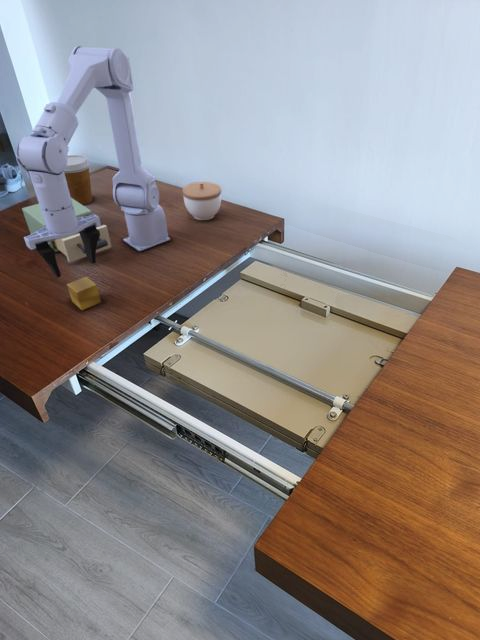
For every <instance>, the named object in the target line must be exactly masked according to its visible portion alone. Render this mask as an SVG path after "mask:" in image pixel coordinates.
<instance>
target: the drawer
mask: <svg viewBox="0 0 480 640" xmlns="http://www.w3.org/2000/svg"><path fill="white" fill-rule="evenodd" d="M85 216H87V215H85ZM85 216H82V217H85ZM96 229H98V230H99V232H100V237H99V239H98V243H97V247H96V254H97V253H99V252H102V251H105V250H108V249H110V248H112V243H111V238H110V234H109V229H108V225H106V224H101V226H100V227H96ZM52 243H53V245H54V246H55V247H56V248H57V249H58V250H60V251H59V252H61V253H62V254H63V255H64V256H65V257H66V259H67V262H68V263H72V262H75V261H78V260H81V259H83V258H87V256H86V252H85V248H84V244H83V241H82V239H81V236H80V234H79V232H78V233H76V234H74V235H72V236H68V237H64V238H60V239H57V240H54V241H52Z"/></svg>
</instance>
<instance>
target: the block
mask: <svg viewBox="0 0 480 640" xmlns="http://www.w3.org/2000/svg"><path fill="white" fill-rule="evenodd" d="M66 286H67V289H68V293H69V296H70V299H71V302H72V303H73V304H74V305H75V306H76V307H77V308H78V309H80V311H84V310H86V309H89V308H91V307H93V306H97V305H98V304H100V303H102V300H101V297H100V293H99V290H98V286H97V283H95V282H94V281H92V280H91V278H89V277H88V276H84V277H81V278H79V279H76V280H74V281H71V282H68V283H66Z"/></svg>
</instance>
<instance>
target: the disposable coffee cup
mask: <svg viewBox="0 0 480 640" xmlns="http://www.w3.org/2000/svg"><path fill="white" fill-rule="evenodd" d="M67 158H68V160H67V166H66V168H65V169H64V174H65V178H66V181H67V185H68V189H69V193H70V196H71V198H72V199H74V200H76V201H77V202H79V203H80V204H82V205H83V206H84V205H87V204H89V203H91V202H92V201H93V194H92V184H91V175H90V164H91V163H90V160H88V158H87V157H86V156H84V155H81V154H80V155H79V154H71V155H67Z"/></svg>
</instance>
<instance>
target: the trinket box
mask: <svg viewBox="0 0 480 640" xmlns="http://www.w3.org/2000/svg"><path fill="white" fill-rule="evenodd" d="M181 190H182V191H181V192H182V197H183V203H184V206H185V208H186V211H187V212H188V213H189V214H190V215H191V216H192V217H193V218H194V219H195V220H199V221H209V220H211V219H213V218H215V215H216V214H217V213H218V212H219V210H220V209H221V205H222V187H221V185H219V184H217V183H215V182H212V181H211V182H210V181H196V182H192V183H188V184H186V185H185V186H183V188H182V189H181Z"/></svg>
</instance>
